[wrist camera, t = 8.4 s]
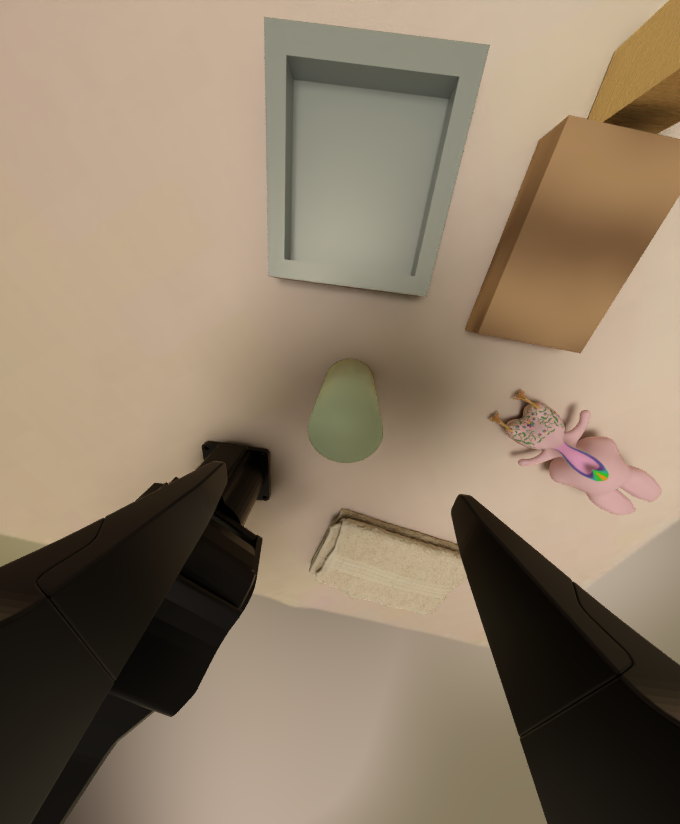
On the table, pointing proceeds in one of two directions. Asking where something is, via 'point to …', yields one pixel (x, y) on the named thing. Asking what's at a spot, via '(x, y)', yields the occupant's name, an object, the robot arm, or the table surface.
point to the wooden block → (644, 77)
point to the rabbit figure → (580, 458)
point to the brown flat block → (576, 232)
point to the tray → (363, 151)
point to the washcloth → (387, 563)
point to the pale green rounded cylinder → (346, 414)
